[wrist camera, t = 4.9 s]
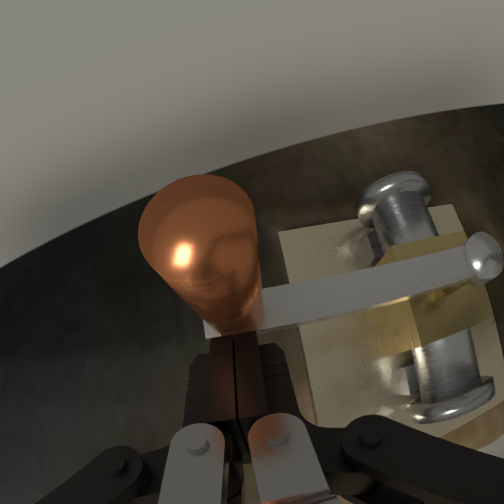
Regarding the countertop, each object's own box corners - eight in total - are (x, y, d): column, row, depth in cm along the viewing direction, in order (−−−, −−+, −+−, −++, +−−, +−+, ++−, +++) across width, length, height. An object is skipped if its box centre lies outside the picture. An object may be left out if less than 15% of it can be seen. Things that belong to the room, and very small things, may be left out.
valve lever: (479, 240, 15) (567, 148, 7) (494, 281, 14) (596, 203, 6) (205, 296, 15) (128, 183, 7) (212, 352, 14) (125, 301, 5)
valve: (446, 210, 30) (495, 145, 19) (500, 397, 20) (579, 386, 10) (277, 239, 29) (280, 158, 19) (324, 472, 20) (359, 526, 10)
